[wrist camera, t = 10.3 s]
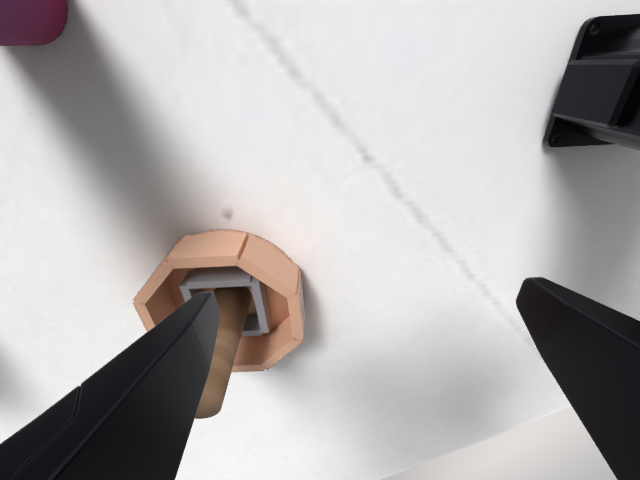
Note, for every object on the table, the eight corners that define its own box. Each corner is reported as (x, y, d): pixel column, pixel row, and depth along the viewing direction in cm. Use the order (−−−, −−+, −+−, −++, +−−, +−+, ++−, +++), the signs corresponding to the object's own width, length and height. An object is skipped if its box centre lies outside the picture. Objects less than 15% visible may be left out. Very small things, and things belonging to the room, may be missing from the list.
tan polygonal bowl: (296, 225, 22) (293, 252, 18) (307, 334, 27) (306, 369, 24) (140, 233, 22) (111, 261, 19) (185, 340, 28) (168, 374, 25)
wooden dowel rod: (248, 280, 23) (214, 386, 16) (254, 307, 25) (226, 417, 17) (210, 281, 23) (158, 389, 16) (219, 309, 25) (175, 419, 17)
